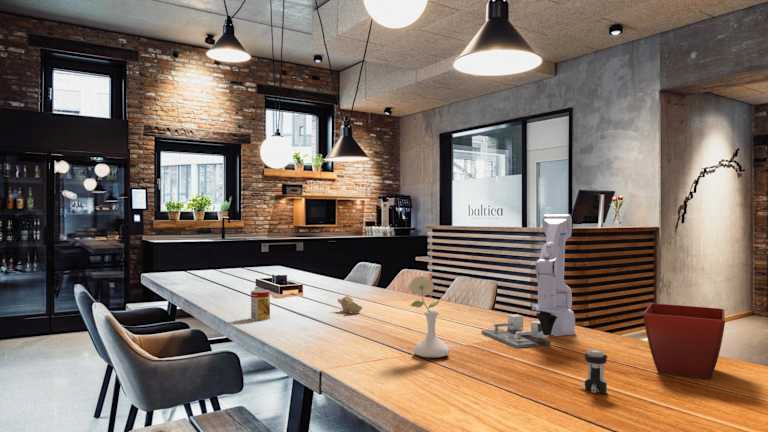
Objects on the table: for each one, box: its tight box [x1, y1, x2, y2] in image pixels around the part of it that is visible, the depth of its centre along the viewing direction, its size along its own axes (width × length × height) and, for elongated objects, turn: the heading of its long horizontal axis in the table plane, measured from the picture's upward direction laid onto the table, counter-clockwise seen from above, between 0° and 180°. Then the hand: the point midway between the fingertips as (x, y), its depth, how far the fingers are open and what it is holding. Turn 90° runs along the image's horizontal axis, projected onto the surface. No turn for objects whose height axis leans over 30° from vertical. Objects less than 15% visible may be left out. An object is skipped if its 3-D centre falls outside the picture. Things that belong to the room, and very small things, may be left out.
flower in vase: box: [408, 275, 451, 359], centre depth 168 cm, size 13×11×25 cm
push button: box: [579, 349, 608, 396], centre depth 133 cm, size 7×5×10 cm
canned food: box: [250, 289, 271, 322], centre depth 231 cm, size 8×8×12 cm
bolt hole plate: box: [481, 328, 539, 349], centre depth 190 cm, size 8×24×1 cm, turn 18°
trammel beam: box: [506, 326, 552, 346], centre depth 192 cm, size 2×24×2 cm, turn 18°
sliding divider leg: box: [515, 320, 549, 339], centre depth 184 cm, size 11×4×5 cm, turn 108°
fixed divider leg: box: [492, 313, 524, 331], centre depth 199 cm, size 11×4×5 cm, turn 108°
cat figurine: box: [337, 295, 363, 314], centre depth 246 cm, size 8×7×12 cm
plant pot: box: [643, 302, 726, 380], centre depth 150 cm, size 19×19×17 cm
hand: (547, 334), depth 181 cm, fingers closed
